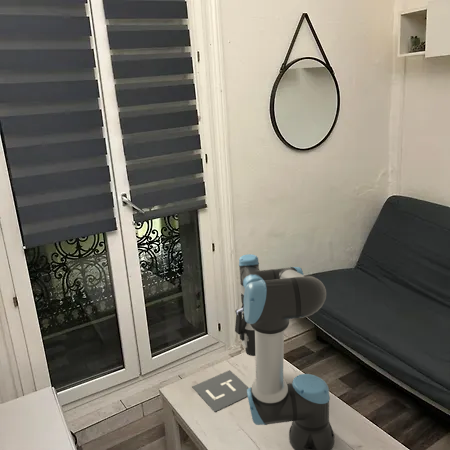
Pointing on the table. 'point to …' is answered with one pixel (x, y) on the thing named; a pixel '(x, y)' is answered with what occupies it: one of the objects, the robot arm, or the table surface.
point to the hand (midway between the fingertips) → (253, 342)
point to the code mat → (222, 390)
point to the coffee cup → (250, 340)
